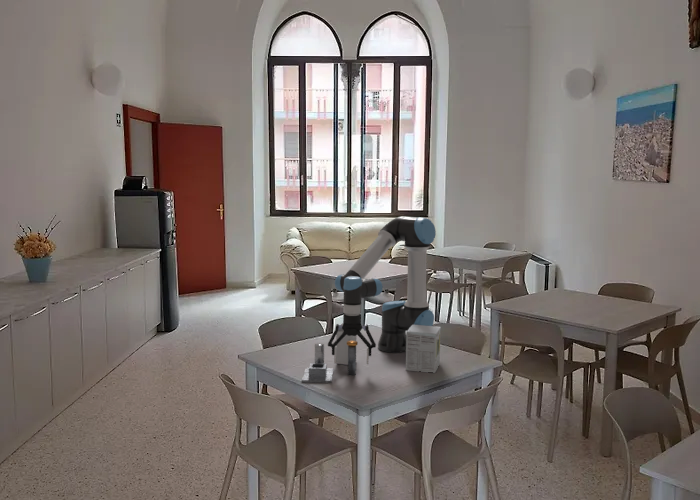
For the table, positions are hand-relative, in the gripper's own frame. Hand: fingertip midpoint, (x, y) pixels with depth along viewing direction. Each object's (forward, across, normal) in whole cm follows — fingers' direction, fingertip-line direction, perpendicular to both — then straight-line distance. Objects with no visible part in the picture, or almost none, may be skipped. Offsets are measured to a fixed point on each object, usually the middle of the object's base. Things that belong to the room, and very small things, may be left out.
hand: (351, 362), depth 265 cm
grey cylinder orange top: (+5, 0, 0) cm, 5 cm away
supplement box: (+5, -31, -11) cm, 34 cm away
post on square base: (+5, +14, +3) cm, 15 cm away
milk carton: (+5, +3, -16) cm, 17 cm away
